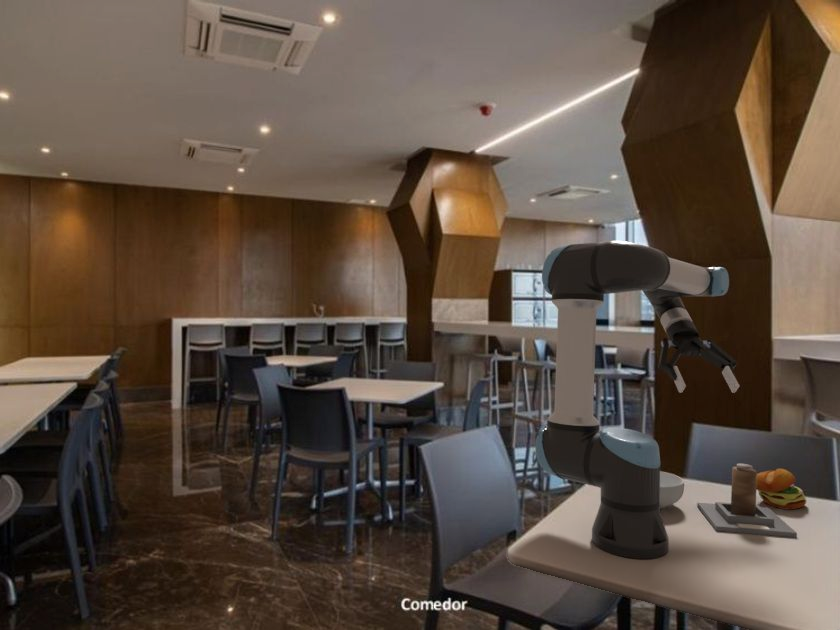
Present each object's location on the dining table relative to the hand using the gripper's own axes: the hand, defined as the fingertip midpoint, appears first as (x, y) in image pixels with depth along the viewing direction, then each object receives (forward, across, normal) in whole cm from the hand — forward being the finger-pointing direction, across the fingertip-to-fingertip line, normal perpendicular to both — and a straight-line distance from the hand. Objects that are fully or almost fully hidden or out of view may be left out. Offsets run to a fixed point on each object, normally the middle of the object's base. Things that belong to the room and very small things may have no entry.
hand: (709, 389), depth 138 cm
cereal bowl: (+19, +14, -23) cm, 33 cm away
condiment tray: (+27, -3, -15) cm, 31 cm away
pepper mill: (+26, -3, -14) cm, 30 cm away
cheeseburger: (+20, -20, -23) cm, 36 cm away
